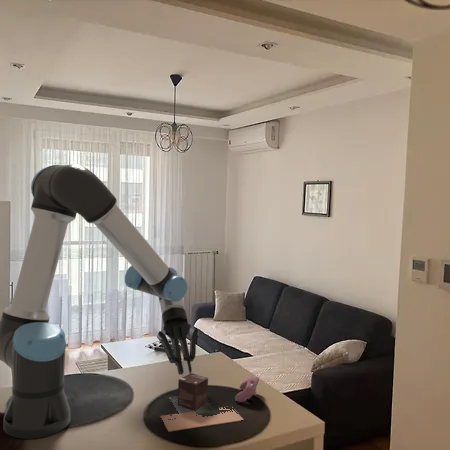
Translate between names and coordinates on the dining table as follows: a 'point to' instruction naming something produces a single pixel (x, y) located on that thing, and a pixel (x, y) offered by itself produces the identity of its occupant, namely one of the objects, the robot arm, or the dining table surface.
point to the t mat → (196, 418)
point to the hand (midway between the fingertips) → (187, 384)
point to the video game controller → (247, 389)
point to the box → (192, 391)
